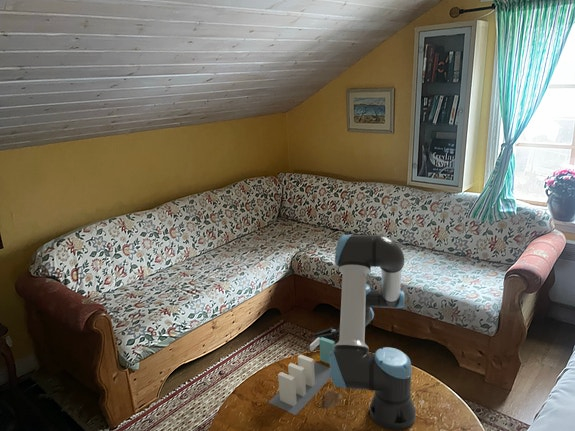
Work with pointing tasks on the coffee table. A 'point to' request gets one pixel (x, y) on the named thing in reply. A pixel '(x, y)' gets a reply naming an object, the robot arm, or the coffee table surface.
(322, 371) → the slate runway
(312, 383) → the ivory domino
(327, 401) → the shard
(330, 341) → the teal domino
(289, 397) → the ivory domino
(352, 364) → the robot arm
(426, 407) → the coffee table surface
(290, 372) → the ivory domino
